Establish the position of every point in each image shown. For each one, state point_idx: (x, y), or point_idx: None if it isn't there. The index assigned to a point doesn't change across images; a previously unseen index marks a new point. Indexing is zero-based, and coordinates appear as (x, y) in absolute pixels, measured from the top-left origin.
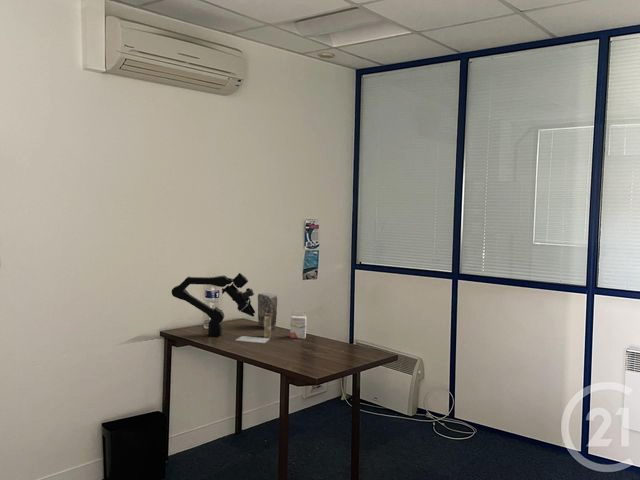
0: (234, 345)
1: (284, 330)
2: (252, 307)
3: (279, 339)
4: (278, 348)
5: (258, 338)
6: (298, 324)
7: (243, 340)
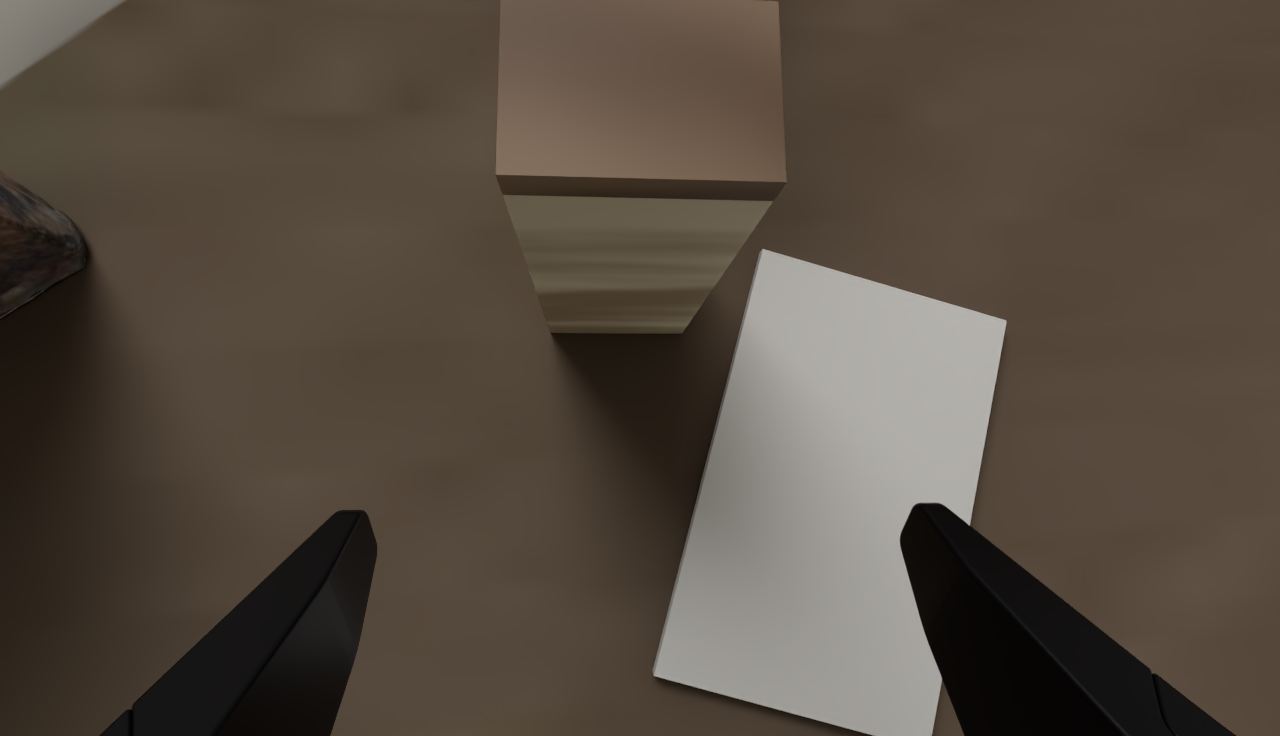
0: None
1: (141, 47)
2: (215, 688)
3: None
4: (1197, 146)
5: (783, 405)
6: None
7: None
